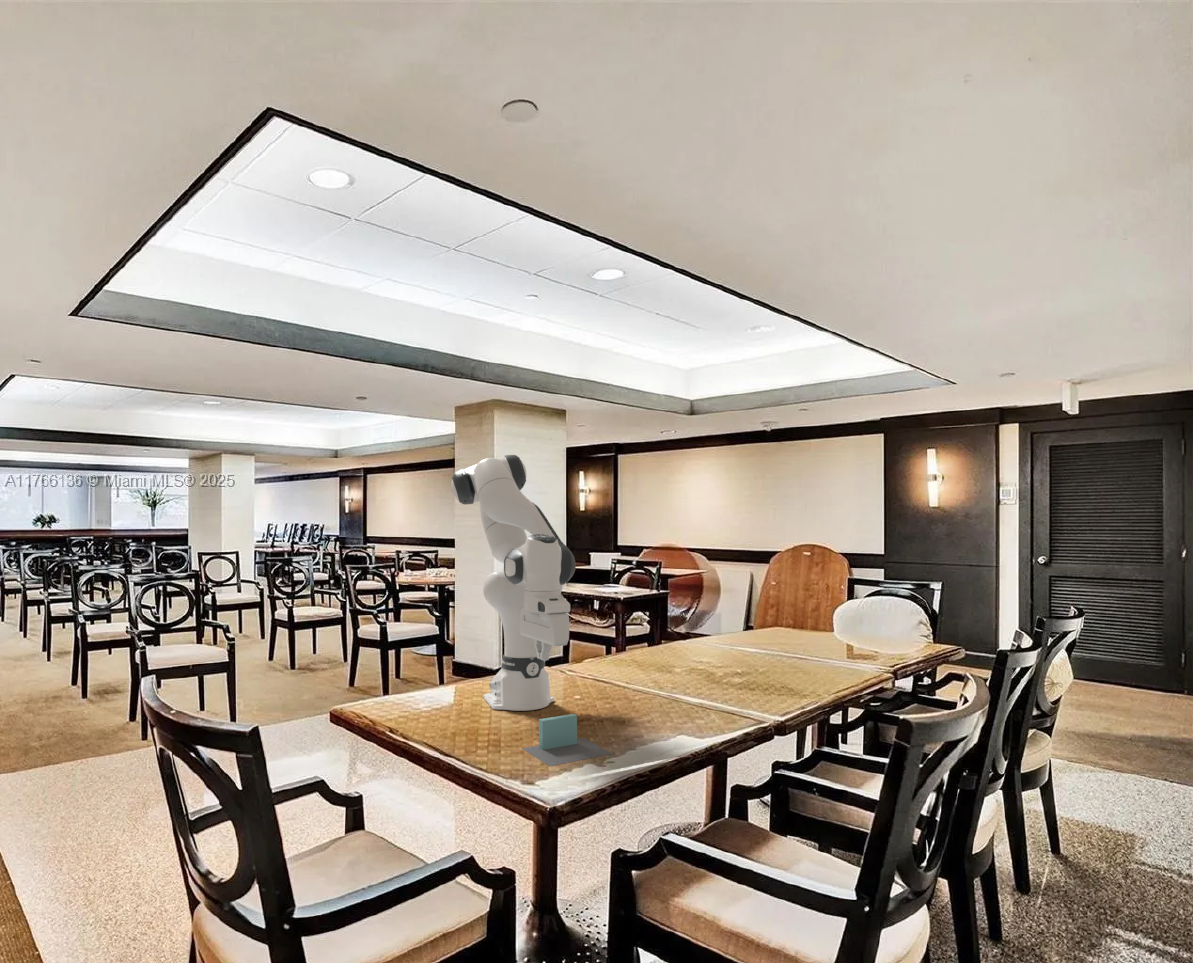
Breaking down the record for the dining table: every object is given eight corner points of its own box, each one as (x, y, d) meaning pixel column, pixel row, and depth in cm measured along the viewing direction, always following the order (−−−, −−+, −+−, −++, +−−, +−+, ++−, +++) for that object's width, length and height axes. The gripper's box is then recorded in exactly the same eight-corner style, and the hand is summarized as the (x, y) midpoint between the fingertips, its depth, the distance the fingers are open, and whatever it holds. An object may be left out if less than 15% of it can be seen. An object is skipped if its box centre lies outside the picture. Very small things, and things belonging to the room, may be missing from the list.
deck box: (538, 747, 174) (538, 719, 175) (573, 741, 179) (573, 713, 179) (542, 749, 173) (542, 721, 173) (577, 743, 177) (576, 715, 178)
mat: (522, 751, 174) (522, 748, 174) (583, 740, 182) (583, 737, 182) (549, 768, 162) (549, 766, 162) (613, 756, 170) (613, 753, 170)
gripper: (513, 598, 191) (513, 653, 191) (549, 607, 174) (549, 668, 173) (536, 596, 194) (536, 651, 194) (574, 605, 177) (574, 665, 176)
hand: (542, 659), depth 183 cm, fingers closed
